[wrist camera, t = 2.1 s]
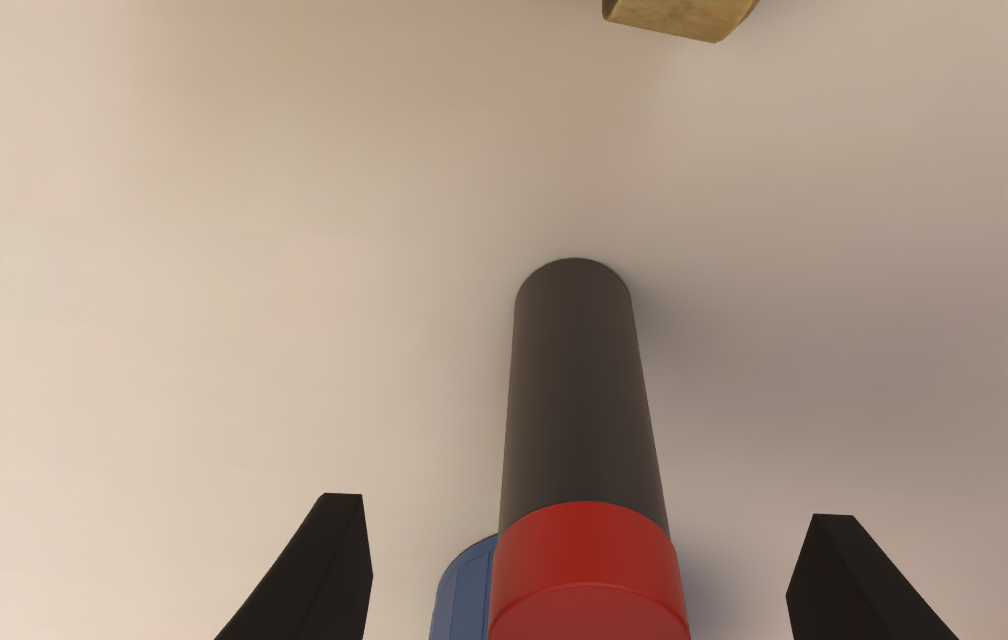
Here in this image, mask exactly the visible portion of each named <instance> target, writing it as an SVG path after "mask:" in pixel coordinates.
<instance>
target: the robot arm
mask: <svg viewBox="0 0 1008 640" xmlns="http://www.w3.org/2000/svg"><path fill="white" fill-rule="evenodd" d="M372 580H373V571H372V564H371V557H370V550H369V542H368V535H367V528H366V521H365V513H364V506H363V499H362V494H341V493H324V494H323V495H321V496H320V497H319V498H318V499H317V501H316V503H315V504H314V506H313V507H312V509H311V510H310V512H309V514H308V515H307V517H306V518H305V520H304V521H303V523H302V524H301V526H300V527H299V529H298V530H297V532H296V533H295V534H294V536H293V537H292V539H291V540H290V542H289V543H288V545H287V546H286V547H285V549H284V550H283V552H282V553H281V554H280V556H279V557H278V559H277V560H276V561H275V563H274V564H273V565H272V567H271V568H270V569H269V571H268V572H267V573H266V575H265V576H264V577H263V579H262V580H261V581H260V583H259V584H258V585H257V587H256V588H255V589H254V591H253V592H252V593H251V594H250V596H249V597H248V598H247V600H246V601H245V602H244V604H243V605H242V606H241V607H240V609H239V610H238V611H237V612H236V614H235V615H234V616H233V617H232V618H231V620H230V621H229V622H228V623H227V624H226V626H225V627H224V628H223V629H222V630H221V632H220V633H219V634H218V635H217V636H216V638H215V639H214V640H362V639H363V634H364V628H365V623H366V617H367V611H368V605H369V599H370V593H371V587H372ZM786 601H787V606H788V611H789V617H790V622H791V628H792V633H793V637H794V640H959V639H958V638H957V637H956V636H955V634H954V633H953V632H952V631H951V630H950V629H949V628H948V627H947V625H946V624H945V623H944V622H943V621H942V620H941V619H940V618H939V616H938V615H937V614H936V613H935V612H934V611H933V610H932V609H931V607H930V606H929V605H928V604H927V603H926V602H925V600H924V599H923V598H922V597H921V596H920V595H919V593H918V592H917V591H916V590H915V589H914V588H913V586H912V585H911V584H910V583H909V582H908V580H907V579H906V578H905V577H904V576H903V575H902V573H901V572H900V571H899V570H898V569H897V567H896V566H895V565H894V564H893V563H892V561H891V560H890V559H889V558H888V557H887V555H886V554H885V553H884V552H883V551H882V549H881V548H880V547H879V546H878V545H877V543H876V542H875V541H874V540H873V538H872V537H871V536H870V535H869V534H868V532H867V531H866V530H865V529H864V528H863V527H862V525H861V524H860V523H859V522H858V521H857V520H856V518H855V517H854V516H853V515H834V514H813V517H812V520H811V522H810V525H809V528H808V531H807V534H806V537H805V540H804V543H803V546H802V549H801V552H800V555H799V558H798V560H797V563H796V566H795V569H794V572H793V575H792V578H791V581H790V584H789V587H788V590H787V593H786Z"/></svg>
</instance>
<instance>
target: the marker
mask: <svg viewBox="0 0 1008 640" xmlns="http://www.w3.org/2000/svg"><path fill="white" fill-rule="evenodd" d="M487 640H691V638H690V631H689V625H688V619H687V613H686V607H685V602H684V596H683V590H682V584H681V578H680V572H679V566H678V560H677V555H676V552H675V548H674V546H673V544H672V542H671V538H670V532H669V526H668V520H667V514H666V508H665V502H664V496H663V490H662V484H661V478H660V472H659V466H658V460H657V454H656V448H655V442H654V436H653V430H652V424H651V418H650V412H649V406H648V400H647V394H646V388H645V382H644V376H643V370H642V364H641V358H640V352H639V346H638V340H637V334H636V328H635V322H634V316H633V310H632V304H631V298H630V295H629V292H628V289H627V287H626V286H625V284H624V282H623V281H622V280H621V279H620V278H619V276H618V275H616V274H615V273H614V272H613V271H612V270H610V269H609V268H607V267H605V266H603V265H601V264H599V263H596V262H593V261H590V260H585V259H564V260H559V261H555V262H552V263H549V264H547V265H545V266H543V267H541V268H539V269H538V270H536V271H535V272H534V273H532V274H531V275H530V276H529V277H528V278H527V279H526V280H525V282H524V283H523V284H522V286H521V288H520V290H519V292H518V294H517V298H516V301H515V313H514V327H513V340H512V354H511V367H510V381H509V394H508V408H507V422H506V435H505V449H504V462H503V476H502V489H501V503H500V516H499V530H498V544H497V546H496V549H495V552H494V557H493V568H492V581H491V594H490V607H489V620H488V632H487Z"/></svg>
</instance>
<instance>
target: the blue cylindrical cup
mask: <svg viewBox="0 0 1008 640" xmlns="http://www.w3.org/2000/svg"><path fill="white" fill-rule="evenodd" d="M497 544H498V534H497V535H495V536H492V537H490V538H487V539H485V540H483V541H481V542H479V543H477V544H475V545H473V546H472V547H470V548H469V549H467V550H466V551H464V552H463V553H462V554H460V555H459V556H458V557H457V558H456V559H455V560H454V561H453V562H452V563H451V564H450V566H449V567H448V568H447V570H446V571H445V573H444V574H443V576H442V578H441V580H440V582H439V586H438V590H437V594H436V601H435V607H434V611H433V615H432V621H431V628H430V635H429V640H487V632H488V620H489V607H490V594H491V581H492V568H493V557H494V552H495V549H496V546H497Z"/></svg>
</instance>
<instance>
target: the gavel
mask: <svg viewBox="0 0 1008 640" xmlns="http://www.w3.org/2000/svg"><path fill="white" fill-rule="evenodd" d="M759 1H760V0H602V14H603V19H604V20H606V21H610V22H614V23H619V24H624V25H629V26H633V27H638V28H643V29H648V30H652V31H657V32H662V33H667V34H671V35H676V36H681V37H686V38H690V39H695V40H700V41H705V42H709V43H714V44H715V43H717V42H719V41H722V40H723V39H724V38H726V37H727V36H728V35H729V34H730V33H731V32H732V31H733V30H734V29H735V28H736V27H737V26H738V25H739V24H740V23H741V22H742V21H743V20H745V19H746V18H747V17H748V15H749V14H750V13H751V11H752V10H753V9H754V7H755V6H756V5H757V3H758V2H759Z"/></svg>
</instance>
